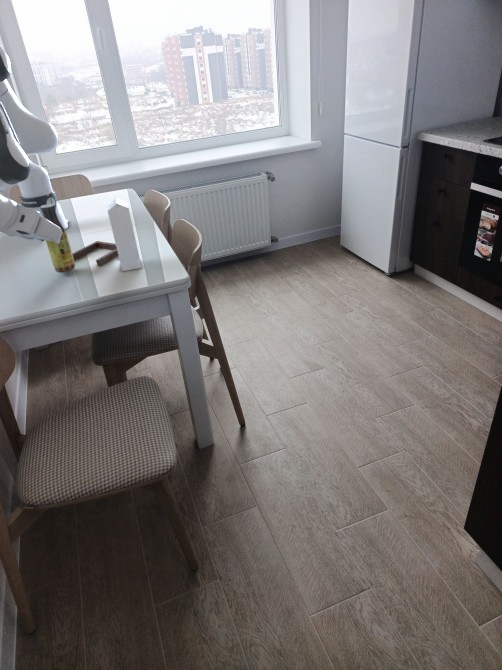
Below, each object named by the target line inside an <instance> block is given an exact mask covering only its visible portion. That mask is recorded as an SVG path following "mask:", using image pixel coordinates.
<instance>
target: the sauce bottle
mask: <svg viewBox="0 0 502 670" xmlns="http://www.w3.org/2000/svg"><path fill="white" fill-rule="evenodd" d="M40 209H41V212H42V213H43V217H44V218H46V219H47V220H49V221H51V222H52V223H54V224H55V225H56V226H58V227H59V228H60V229H61V230H62V235H61V238H60V242H59V244H56V243H53V242H51V241H48V240H45V242H46V246H47V249H48V253H49V255H50V259H51V262H52V266H53V267H54V270H55V272H57V273H61V274H62V273H63V274H64V273H67V272H71V271H72V270H74V269H75V268H76V265H75V261H74V258H73V255H72V253H73V251H72V247H71V244H70V240H69V236H68V233H67V230H66V229H64V227H63V226H62V224H61V223H60V221H59V220H58V217H57V214H56V208H55V205H54V204H47V205H43V206H41V207H40Z"/></svg>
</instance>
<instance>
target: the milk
mask: <svg viewBox="0 0 502 670" xmlns="http://www.w3.org/2000/svg"><path fill="white" fill-rule="evenodd" d="M106 208H107V215H108V219H109V222H110V226H111V227H110V228H111V230H112V231H111V232H112V235H113V239H114V244H116V247H117V252H118V256H117V257H118V259H119V263H120V267H121V271H122V272H127V271H132V270H138V269H141V268H142V263H141V258H140V254H139V249H138V245H137V241H136V236H135V231H134V226H133V222H132V217H131V212H130V208H129V205H128V202H126V201H124V200H122V199H118V198H117V197H116V195H114V199H113V200H112V201H111V202H110V203H108V204H107V206H106Z"/></svg>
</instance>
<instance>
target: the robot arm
mask: <svg viewBox="0 0 502 670" xmlns="http://www.w3.org/2000/svg"><path fill="white" fill-rule="evenodd" d="M11 65H12V64H11V60H10V58H9V55H8V53H7V52H6V50H5V49H4V48H3V46H2V45H1V44H0V232H1V233H2V234H4V235H7V236H9V237H15V236H19V237H24V238H28V239H35V240H37V241H39V242H44V241H46V240H48V241H51V242H53V243H56V244H59V242H60V238H61V235H62V230H61V229H60V228H59V227H58V226H56V225H55V224H54V223H52V222H51V221H49V220H47V219H46V218H44V217H43V213H42V212H41V209H40V207H41V206H43V205H47V204H54V205H55V208H56V214H57V217H58V220H59V221H60V223H61V224H62V226H63V227H64V229H65V230H66V229H68V227H69V225H68V223H69V220H68V219H66V217H65V215H64V212H63V210H62V207H61V204H60V203H59V202H58V199H57V194H56V193H55V190H53V187H52V186H53V185H52V183H51V179H50V176H49V173H48V171H47V170H46V169H45V168H44V167H43V166H41V165H38V164H36V163H34V162H33V161H31V160H30V158H29V156H33V155H35V156H36V155H43V154H47V153H51V152H53V151H55V150H56V148H57V146H58V144H59V136H58V135H59V134H58V132H57V130H56V129H55V127H54V126H53V125H52V124H51V122H49V121H46V120H44V119H41V118H39V117H37V116H35V114H33V113H31V111H29V110H28V109H27V108H26V107H25V106H23V104H22V103H21V101H19V99H18V97H17V95H16V93H15V92H14V90H13V88H12V86H11V85H10V84H9V81H8V79H9V78H10V77H11V74H12V66H11ZM16 184H17V186H18V188H19V190H20V194H21V196H19V197H18V199H19V200H18V201H21V204H20V203H18V202H16V201H15V200H12V199H11V198H9V197H6V196H4V194H3V191H4V190H5V189H7V188H9V187H11V186H13V185H16Z"/></svg>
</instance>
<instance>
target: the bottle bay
mask: <svg viewBox="0 0 502 670" xmlns="http://www.w3.org/2000/svg"><path fill="white" fill-rule="evenodd" d="M97 249H103V250H110V252H108V253H106V254H104V255H103V256H101V257H99V258H97V259H95V262H96V265H97V266H98V267H101V266H104V265H105V264H107V263H109V262H110V261H112V260H114V259H116V258H117V257H119V256H118V252H117V247H116V243H115V242H106V241H99V240H97V241H95V242H92V243H91V244H88V245H86V246H84V247H82V248H81V249H78V250H77V251H75V252H72V255H73V258H74V262H75V261H76V260H78V259H81V258H82V257H84V256H86V255H88V254H91V253H92V252H94V251H96V250H97Z"/></svg>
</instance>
